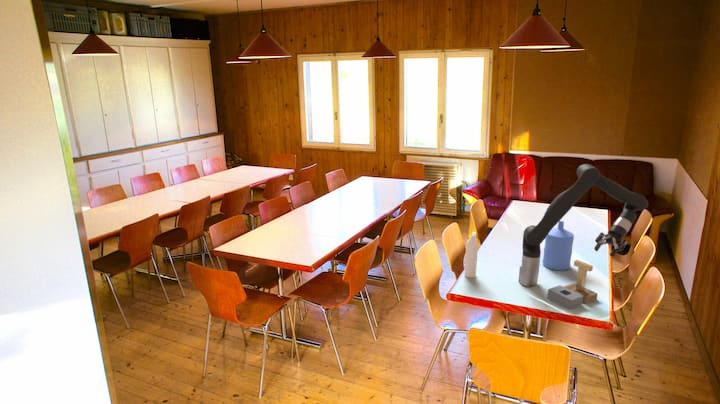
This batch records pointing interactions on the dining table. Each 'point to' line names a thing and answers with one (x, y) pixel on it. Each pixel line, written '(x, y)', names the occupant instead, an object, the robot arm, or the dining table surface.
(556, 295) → the block
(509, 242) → the dining table surface
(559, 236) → the water jug
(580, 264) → the t key
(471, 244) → the water bottle
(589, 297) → the block
